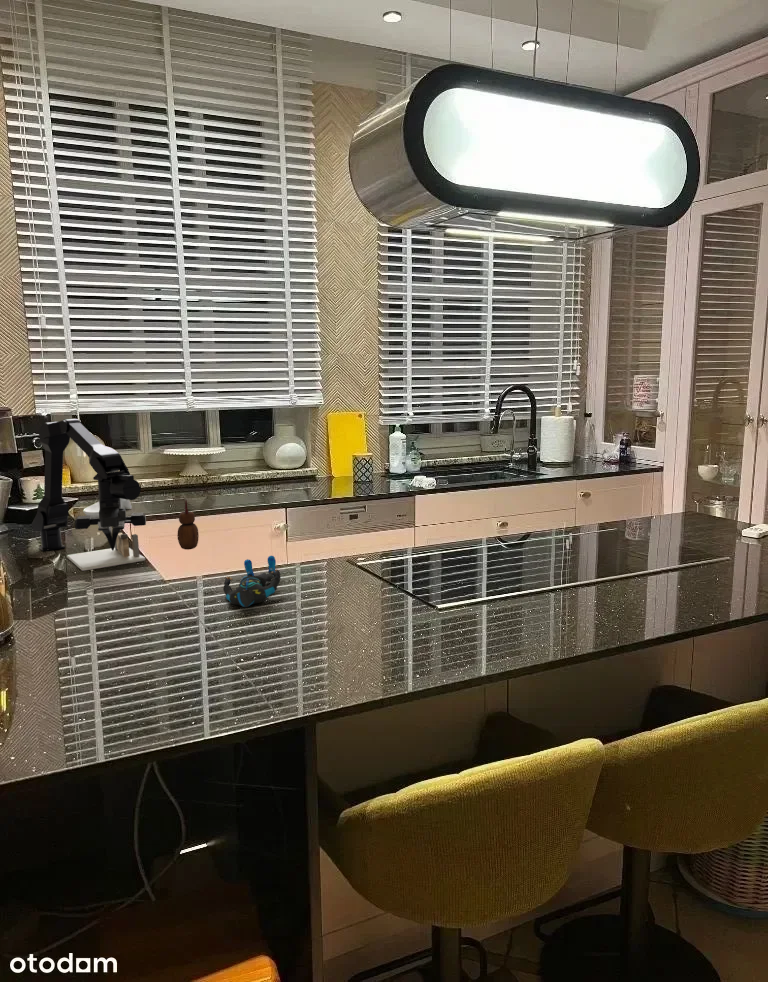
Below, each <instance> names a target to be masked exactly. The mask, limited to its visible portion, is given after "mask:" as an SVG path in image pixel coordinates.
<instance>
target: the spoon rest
mask: <svg viewBox="0 0 768 982" xmlns="http://www.w3.org/2000/svg"><path fill="white" fill-rule="evenodd" d="M121 508H125V510H131V509H132V508H133V507H132V503H131V500H127V499H121ZM99 510H100V506H99V501H97V502H95V503H94V504H91V505H88V506H87V507H85V508H84V509H83V513H84V514H85V516H87V515H91V518H99Z"/></svg>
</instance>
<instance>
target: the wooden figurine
mask: <svg viewBox="0 0 768 982" xmlns="http://www.w3.org/2000/svg"><path fill="white" fill-rule="evenodd" d="M187 501H188V500H185V501H184V511H181V512H180V513H179V515H178V522H179V523H180V525H179V527H178V528H177V541H178V544H179V546H180V548H181V549H182V550H187V551H189V550H194V549H195V548H196V547H198V544H199V538H200V537H199V528H198V526H197V525H196V523H195V521H196V516H195V513H194V512H193V511H190V510H189V509H188V502H187Z"/></svg>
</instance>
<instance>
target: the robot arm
mask: <svg viewBox="0 0 768 982" xmlns="http://www.w3.org/2000/svg"><path fill="white" fill-rule="evenodd" d="M37 432H38V436H39V439H38V441H39V442H40V444H41V446H42V448H43V449H44V454H45V455H44V479H43V480H44V482H43V483H44V485H43V486H44V487H43V490H44V491H43V497H42V498H41V500H40V502H38V505H37V510H36V511H37V512H36V514H35V517H34V518H33V520H32V522H31V528H32V530H33V531H36V532H40V540H41V541H40V543H41V545H39V546H38V548H39V549H40V550H41V551H42V552H45V551H52V550H59V549H65V548H66V545H64V544H63V543H62V533H61V528H65V527H67V526H68V517H69V516H70V515H69V507H70V506H69V503H66V502H65V499H63V474H64V472H63V470H64V469H63V468H64V452H65V450H66V449H67V447H68V445H69V444H70V442H71V441H73V442H74V443H75V444H76V445H77V446H78V447H79V449H81V450H82V451H83V452H84V453H85V454H86V455H87V457H88V461H89V462H88V463H89V465H90V466H91V468H92V469H93V470H94V472H95V473H96V474H95V475H94V476H93V480H95V481H97V486H98V487H97V488H98V502H99V506H100V510H99V518H91V515H78V516H77V517H76V518H75V520H74V529H75V530H87V529H89V527H90V526H97V531H99V532H102V533H103V534H104V536H105V537H106V539H107V541H108V543H109V546H110V548H111V549H112V550H114V548H115V543H116V539H117V536H118V534H119V531H120V530H121V531H122V530H124V529H125V524H129V523H131V525H133V526H134V527H138V526H139V527H140V526H146V525H147V516H146V513H145V512H131V513H130V515H129V516H127V512H126V510H127V509H125V508H121V499H127V500H129V501H134V500H136V499H137V498H138V497H139V496H140V494H141V490H142V488H141V486H140V483H139V481H137V480H136V479H135V478H134V475H133V474H131V473H130V471H129V468H128V467H127V465H126V464H125V462H124V460H123V457H122V455H121V453H119V452H118V451H117V450H115V449H114V448H112V447H109V446H106V445H104V444H103V443H101V442H100V441H99V440H98V439H97V438H96V437H95V435H93V434H92V433H91V432H90V431H89V430H88V429H87V428H86V427H85V426H84V425H83V424H82V421H81V420H80V419H77V418H66V419H63V420H60V421H50V422H49V421H46V422H43V423H41V425H39V427H38V431H37ZM70 440H71V441H70ZM111 528H112V529H111Z"/></svg>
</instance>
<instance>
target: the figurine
mask: <svg viewBox="0 0 768 982" xmlns="http://www.w3.org/2000/svg"><path fill="white" fill-rule="evenodd" d="M251 560H252V559H248V558H247V559H245V560H244V563H243V565H244V569H245V572H246V575H245V576H243V577H242V578H241V580H240V582H239V584H238V585H239V586H238V587H236V589H235V590H234V591H233V589H232V587H231V586H230V585H231V582H232V580H233V577H231V576H227V577H225V579H224V581H223V592H224V595H225V598H226V600H227V601H229V602H230V604H232V605H234V606H241V607H243V608H248V607H250V606H251V605H255V604H259V603H262V602H264V601H265V600H266V599H267V598H269V596H271V595H274V594H275V591H277V589H278V586H279V583H280V581H281V573H280V571H279V569H276V564H277V563H276V558H275V556H274V555H269V556H268V557H267V564H268V565H267V566H268V571H267V572H268V573H265V572H262V573H260V574H258V575H255V574H254V570H253V562H252V561H251ZM269 582H270V583H269ZM267 583H269V584H268V585H266V584H267Z"/></svg>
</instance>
